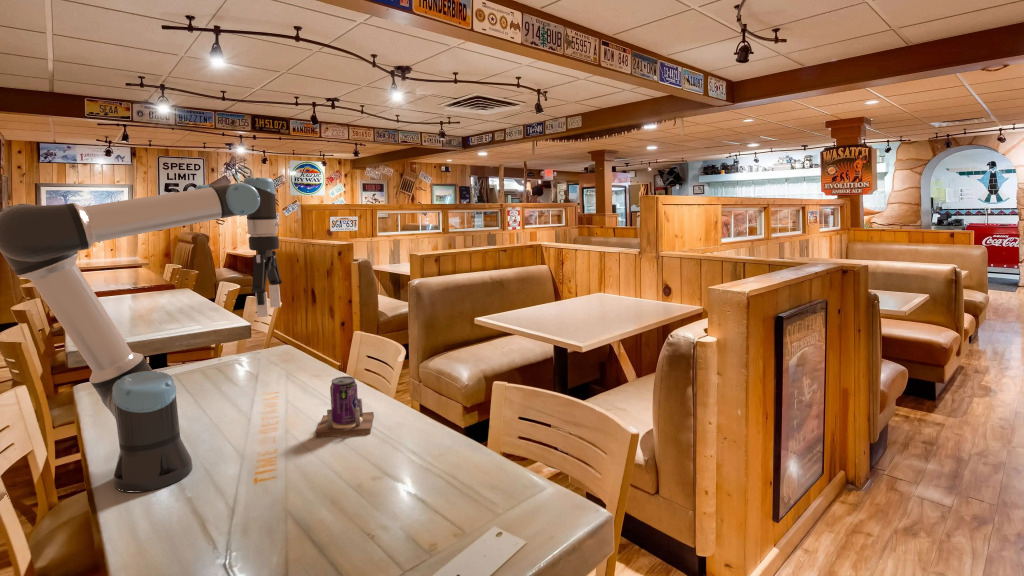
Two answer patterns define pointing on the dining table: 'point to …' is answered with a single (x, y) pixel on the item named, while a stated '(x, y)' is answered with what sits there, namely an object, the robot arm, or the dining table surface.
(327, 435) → the pin board
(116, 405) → the robot arm
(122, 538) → the dining table surface
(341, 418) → the beverage can
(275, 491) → the dining table surface
